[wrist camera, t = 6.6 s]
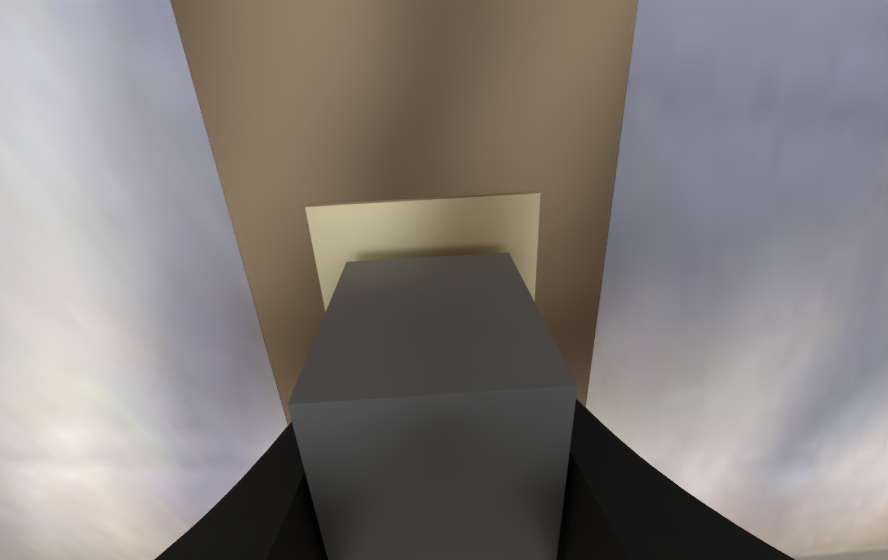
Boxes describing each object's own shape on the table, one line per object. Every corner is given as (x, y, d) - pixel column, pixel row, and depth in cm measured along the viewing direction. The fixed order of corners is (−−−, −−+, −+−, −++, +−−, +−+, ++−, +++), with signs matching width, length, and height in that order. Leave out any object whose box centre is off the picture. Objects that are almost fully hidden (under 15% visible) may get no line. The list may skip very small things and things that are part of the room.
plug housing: (509, 252, 10) (577, 385, 6) (503, 456, 13) (545, 648, 9) (346, 261, 10) (287, 404, 6) (377, 465, 13) (355, 664, 9)
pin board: (657, -336, 8) (798, -583, 5) (568, 448, 16) (600, 526, 13) (108, -323, 7) (-87, -576, 5) (312, 467, 16) (288, 552, 13)
